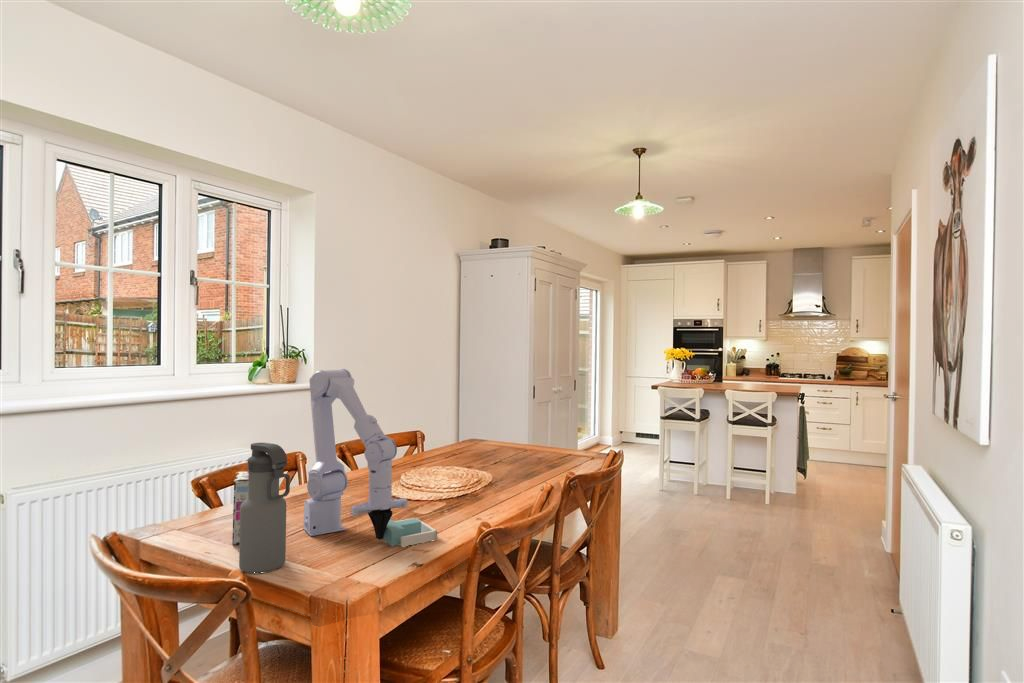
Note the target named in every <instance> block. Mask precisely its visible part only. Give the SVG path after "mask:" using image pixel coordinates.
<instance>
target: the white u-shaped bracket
mask: <svg viewBox="0 0 1024 683" xmlns="http://www.w3.org/2000/svg"><path fill="white" fill-rule="evenodd" d="M414 518H416V519H418V520H419V521H421V532H422V533H418V534H413V535H408V536H403V537H401V543H400V545H399V546H401V547H403V548H405V547H404V546H408V545H412V546H414V545H413V544H417V543H422V542H427V541H431V542H433V541H432V540H436V541H438V530H437V529H435V528H433V527H432V526H430V525H429V524H427V523H426V522H423V521H422V520H421V519H419V518H417V517H412V518H406V519H405V520H409V519H414ZM403 520H404V519H402V520H399V521H403ZM397 521H398V520H396V521H394V522H397ZM427 543H428V542H427ZM422 544H423V543H422ZM417 545H418V544H417ZM401 547H400V548H401ZM408 547H409V546H408Z"/></svg>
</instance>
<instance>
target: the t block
mask: <svg viewBox="0 0 1024 683" xmlns="http://www.w3.org/2000/svg"><path fill="white" fill-rule="evenodd" d="M413 518H414V519H411V518H408V519H409V520H406V519H402V520H403V521H400V520H396V521H397V522H395V521H394V520H393V519H391V518H390V520H389V522H388V524H387V527H386V530H385V533H384V538H383V540H382V541H384V542H385V541H386V542H387V544H388V545H389V546H390V547H391V546H392V547H396V546H395V545H397V546H400V545H399V544H400V543H401V537H403V536H408V535H413V534H418V533H421V521H422V520H420V519H419V518H417V517H413ZM416 518H417V519H416ZM418 519H419V520H420V521H419V520H418ZM386 542H385V543H386Z"/></svg>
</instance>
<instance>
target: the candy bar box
mask: <svg viewBox="0 0 1024 683" xmlns="http://www.w3.org/2000/svg"><path fill="white" fill-rule="evenodd" d="M247 498H248V472H247V471H244V470H243V471H238V472H237V475H235V478H234V480H233V506H232V508H233V509H232V511H233V513H232V543H231V545H234V546H235V544H236V545H239V544H240V506H241V504H242V502H243V501H244V500H246V499H247Z"/></svg>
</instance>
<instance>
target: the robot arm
mask: <svg viewBox="0 0 1024 683" xmlns="http://www.w3.org/2000/svg"><path fill="white" fill-rule="evenodd" d="M308 382H309V390H310V409H311V418H312V419H311V420H312V430H313V444H314V452H315V453H314V454H315V464H313V466H312V467H311V468H310V469H309V471H308V473H307V474H308V480H307V485H306V487H307V488H306V489H307V493H308V495H309V496H310V497H311V498H309V499H306V500H305V501H304V503H303V504H304V505H303V527H302V528H303V529H304V531H305V532H306V533H307V534H308V535H309V537H314V536H319V535H324V534H325V535H326V534H329V533H336V532H341V531H346V530H347V528H346V527H345V526H344V525H342V523H341V522H342V519H341V518H342V516H341V515H342V496H343V495H344V491H346V489H347V488H348V483H349V479H348V476H347V474H346V471H345V465H343V463H341V462H340V461H338V459H337V450H336V449H337V448H336V438H335V425H334V418H333V417H334V416H333V415H334V414H333V403H334V401H335V400H336V399H338V400H340V401H341V403H342V404H343V406H344V407H345V408H346V410H347V412H348V413H349V414H350V415H351V417H352V418H353V420H354V424H353V429H354V430H355V432H356V434H357V435H358V437H359V439H360V440H361V442H362V444H363V445H364V447H365V450H364V452H363V453H364V458H365V459H366V462H367V468H368V472H369V473H368V474H369V475H368V478H369V479H368V486H369V487H368V501H367V502H363V503H361V504H357V505H356V504H355V505H352V506H351V513H350V514H351V515H352V516H354V517H356V516H359V515H362V514H367V515H368V517H369V519H370V521H371V523H372V526H373V529H374V533H375V534H374V535H375V538H376V539H377V540H378V541H380V540H382V539H383V538H384V533H385V530H386V527H387V524H388V522H389V520H390V519H391V518H392V516H393V511H392V510H393V509H399V508H408V499H406V498H405V497H403V498H393V499H392V494H393V493H392V488H393V487H392V485H393V484H392V482H393V459H395V458H396V456H397V452H398V447H397V445H396V444H397V443H396V441H395V440H394V439H393V438H391V437H389V436H388V435H386V434H385V433H384V432H383V430H382V428H381V427H380V425H379V424H378V420H377V418H376V417H374V416H373V415H371V414H368V413H367V412H366V410H365V408H364V406H363V403H362V401H361V400H360V398H359V395H358V394H357V392H356V389H355V387H354V385H355V379H354V378H353V377H352V374H351V372H350V371H349V369H346V368H341V369H327V370H324V369H318V370H316V371H315V372H314V373H313V374H312V375H311V376H310V378H309V380H308ZM382 541H383V540H382Z"/></svg>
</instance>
